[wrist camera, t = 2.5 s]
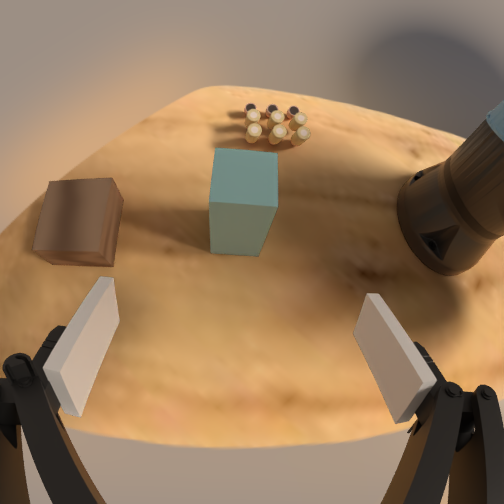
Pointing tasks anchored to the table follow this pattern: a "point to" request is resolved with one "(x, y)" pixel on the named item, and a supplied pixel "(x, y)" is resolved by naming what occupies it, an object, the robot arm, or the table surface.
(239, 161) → the teal block
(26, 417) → the robot arm
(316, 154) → the table surface
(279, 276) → the table surface
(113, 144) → the table surface
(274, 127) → the ammunition
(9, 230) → the table surface
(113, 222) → the walnut base
